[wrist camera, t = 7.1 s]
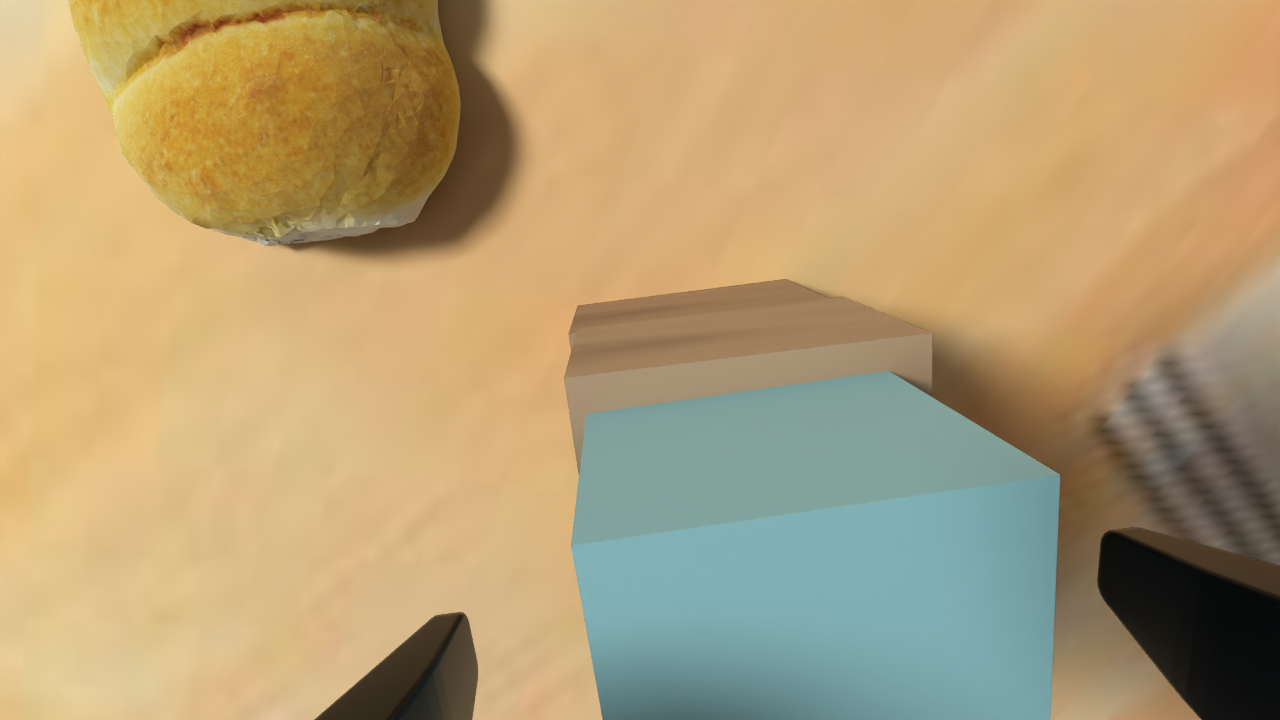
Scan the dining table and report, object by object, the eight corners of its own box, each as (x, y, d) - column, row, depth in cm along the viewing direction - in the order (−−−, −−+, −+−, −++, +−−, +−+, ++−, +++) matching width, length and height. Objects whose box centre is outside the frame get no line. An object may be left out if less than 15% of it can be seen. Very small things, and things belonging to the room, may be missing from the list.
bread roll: (412, -165, 15) (344, -296, 11) (493, 214, 17) (460, 217, 13) (70, -112, 15) (-122, -224, 11) (196, 262, 17) (74, 279, 13)
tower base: (796, 469, 19) (843, 537, 15) (605, 494, 19) (604, 569, 15) (785, 278, 18) (833, 300, 14) (577, 305, 18) (568, 334, 14)
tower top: (850, 534, 15) (930, 646, 12) (610, 564, 15) (610, 688, 11) (842, 296, 14) (932, 332, 10) (577, 328, 14) (563, 378, 10)
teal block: (897, 629, 11) (1044, 849, 8) (628, 669, 11) (637, 911, 7) (888, 370, 10) (1060, 474, 6) (586, 413, 10) (571, 545, 6)
